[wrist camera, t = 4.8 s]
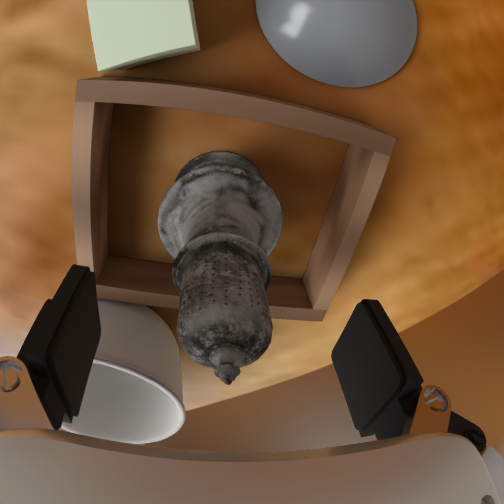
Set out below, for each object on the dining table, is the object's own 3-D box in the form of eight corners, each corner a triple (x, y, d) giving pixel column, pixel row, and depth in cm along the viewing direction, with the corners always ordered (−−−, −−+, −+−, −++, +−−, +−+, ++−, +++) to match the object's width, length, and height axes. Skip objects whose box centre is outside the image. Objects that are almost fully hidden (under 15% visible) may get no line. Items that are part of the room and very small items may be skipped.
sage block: (113, 4, 11) (85, -11, 8) (189, -17, 11) (182, -41, 8) (124, 69, 13) (97, 71, 10) (200, 50, 13) (195, 44, 10)
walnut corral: (99, 76, 13) (77, 80, 11) (370, 125, 16) (396, 138, 14) (95, 265, 19) (81, 295, 17) (311, 291, 22) (321, 321, 20)
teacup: (44, 259, 18) (-6, 343, 12) (194, 277, 21) (188, 380, 14) (77, 375, 26) (60, 445, 19) (183, 390, 28) (182, 466, 21)
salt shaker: (188, 130, 15) (136, 262, 5) (288, 169, 17) (384, 331, 7) (154, 223, 18) (105, 408, 8) (245, 252, 20) (274, 436, 10)
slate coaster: (275, -76, 9) (277, -80, 8) (422, -18, 11) (427, -19, 10) (237, 62, 14) (238, 62, 13) (392, 107, 15) (397, 109, 15)
